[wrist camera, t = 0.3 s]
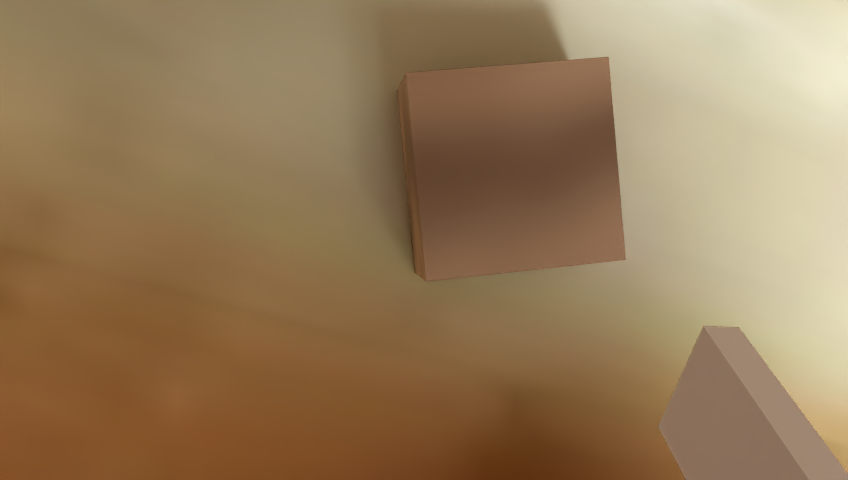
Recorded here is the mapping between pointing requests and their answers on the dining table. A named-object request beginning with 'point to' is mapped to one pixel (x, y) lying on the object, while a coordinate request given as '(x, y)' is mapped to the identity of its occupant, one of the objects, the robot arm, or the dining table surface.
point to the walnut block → (511, 168)
